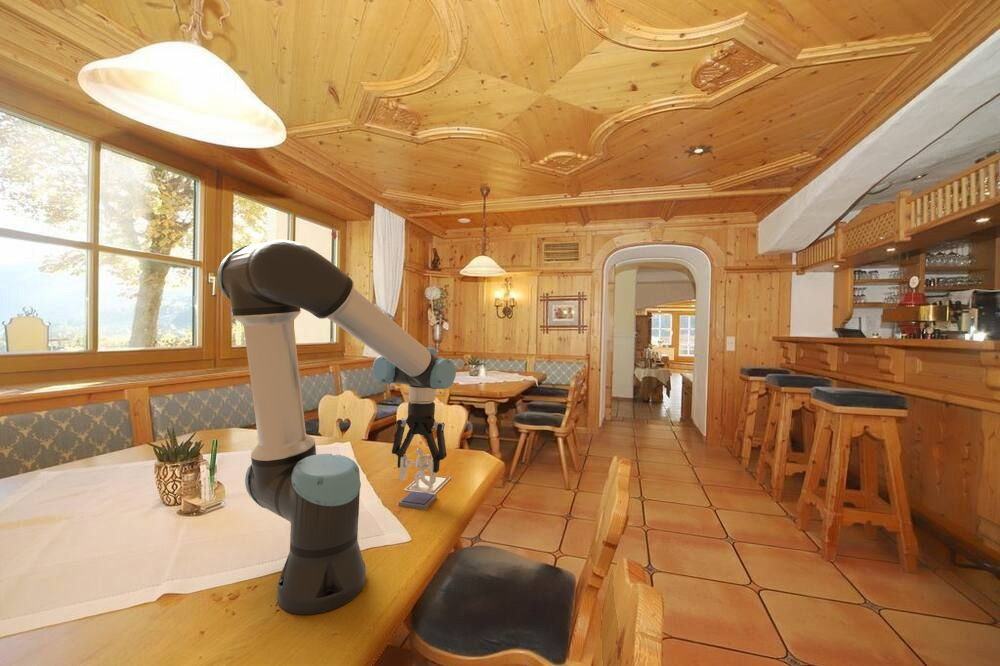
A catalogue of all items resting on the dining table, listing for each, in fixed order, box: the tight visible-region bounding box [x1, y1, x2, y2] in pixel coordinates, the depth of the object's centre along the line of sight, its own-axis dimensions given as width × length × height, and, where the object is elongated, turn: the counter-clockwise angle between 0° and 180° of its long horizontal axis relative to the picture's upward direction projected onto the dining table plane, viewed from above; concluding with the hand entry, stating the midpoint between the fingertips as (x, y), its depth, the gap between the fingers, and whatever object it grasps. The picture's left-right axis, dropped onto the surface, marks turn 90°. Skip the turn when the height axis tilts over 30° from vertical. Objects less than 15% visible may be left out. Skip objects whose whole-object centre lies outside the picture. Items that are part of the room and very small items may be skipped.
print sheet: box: [403, 473, 452, 495], centre depth 126 cm, size 14×10×1 cm
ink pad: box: [398, 491, 437, 511], centre depth 112 cm, size 8×8×1 cm
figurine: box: [404, 447, 434, 493], centre depth 112 cm, size 5×9×12 cm, turn 87°
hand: (417, 481), depth 112 cm, fingers closed on figurine, 8 cm apart
